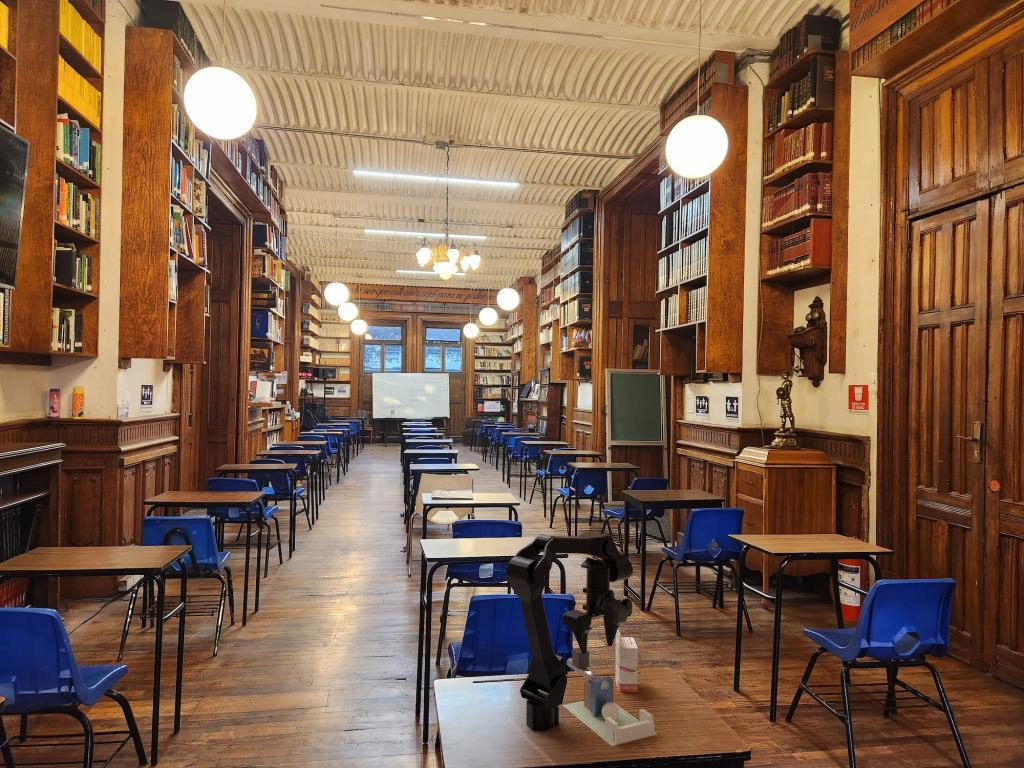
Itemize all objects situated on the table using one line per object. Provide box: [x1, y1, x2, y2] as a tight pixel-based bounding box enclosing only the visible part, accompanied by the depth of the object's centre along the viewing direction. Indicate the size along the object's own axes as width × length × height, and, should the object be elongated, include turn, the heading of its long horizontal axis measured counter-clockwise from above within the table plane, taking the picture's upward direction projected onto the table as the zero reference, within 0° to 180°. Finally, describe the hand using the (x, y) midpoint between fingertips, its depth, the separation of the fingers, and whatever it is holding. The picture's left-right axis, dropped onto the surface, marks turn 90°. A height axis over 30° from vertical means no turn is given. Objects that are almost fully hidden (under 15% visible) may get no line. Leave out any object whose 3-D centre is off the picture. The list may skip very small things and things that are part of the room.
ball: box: [602, 702, 619, 721], centre depth 151 cm, size 4×4×4 cm
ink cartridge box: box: [614, 628, 639, 693], centre depth 171 cm, size 9×5×15 cm, turn 178°
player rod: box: [566, 647, 614, 716], centre depth 160 cm, size 5×16×11 cm, turn 25°
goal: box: [605, 708, 655, 746], centre depth 144 cm, size 10×4×4 cm, turn 115°
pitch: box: [561, 680, 659, 747], centre depth 152 cm, size 12×21×7 cm, turn 25°
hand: (597, 649), depth 163 cm, fingers open, 9 cm apart
